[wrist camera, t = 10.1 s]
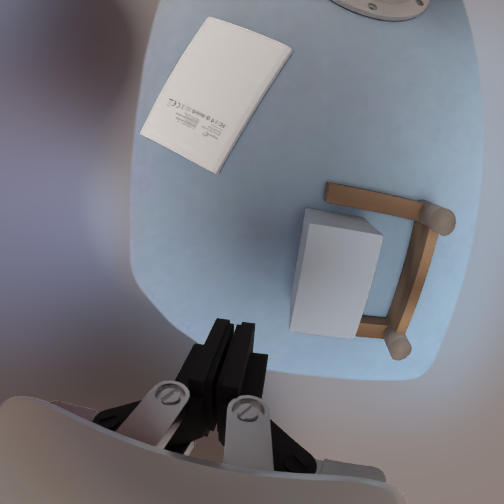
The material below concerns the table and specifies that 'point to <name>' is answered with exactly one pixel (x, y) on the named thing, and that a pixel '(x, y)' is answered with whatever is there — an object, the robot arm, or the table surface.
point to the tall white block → (333, 273)
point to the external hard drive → (214, 92)
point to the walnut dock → (416, 263)
